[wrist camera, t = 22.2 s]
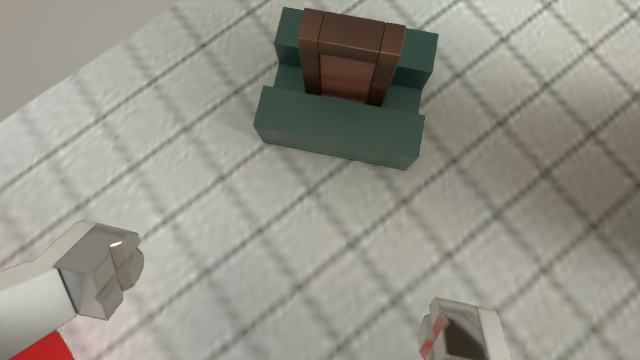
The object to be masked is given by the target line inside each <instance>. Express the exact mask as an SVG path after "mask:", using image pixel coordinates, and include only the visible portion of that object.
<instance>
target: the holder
mask: <svg viewBox="0 0 640 360" xmlns="http://www.w3.org/2000/svg"><path fill="white" fill-rule="evenodd" d="M303 12H304V10H299V9H293V8H287V7H283V10H282V14H281V18H280V22H279V26H278V30H277V34H276V38H275V42H274V45H275V49H276V52H277V56H278V60H279V67H278V71H277V75H276V79H275V83H274V87H270V86H263V89H262V93H261V97H260V101H259V105H258V109H257V113H256V117H255V121H254V125H253V126H254V127H255V129H256V131H257V132H258V134H259V136H260V137H261V139H262V140H263V142H265V143H270V144H275V145H281V146H286V147H291V148H296V149H301V150H306V151H311V152H316V153H321V154H326V155H331V156H336V157H341V158H346V159H351V160H356V161H362V162H367V163H372V164H377V165H382V166H387V167H392V168H397V169H402V170H406V169H407V168H408V167H409V166H410V165H411V164H412V163H413V162H414V161H415V160H416V159H417V158H418V157H419V150H420V144H421V138H422V132H423V126H424V120H425V116H424V115H418V110H419V104H420V98H421V92H422V89H423V87H424V85H425V84H426V82H427V80H428V79H429V77H430V75H431V73H432V71H433V65H434V59H435V53H436V47H437V41H438V34H436V33H430V32H425V31H419V30H413V29H408V28H406V29H405V35H404V40H403V46H402V51H401V56H400V59H399V62H398V64H397V67H396V69H395V72H394V75H393V77H392V80H391V83H390V85H389V88H388V91H387V93H386V96H385V99H384V101H383V104H382V106H381V107H376V106H371V105H365V104H360V103H355V102H349V101H344V100H339V99H334V98H328V97H323V96H318V95H312V94H307V93H305V87H304V80H303V73H302V66H301V59H300V52H299V45H298V38H297V37H298V33H299V29H300V25H301V20H302V16H303Z"/></svg>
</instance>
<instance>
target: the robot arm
mask: <svg viewBox="0 0 640 360" xmlns="http://www.w3.org/2000/svg"><path fill="white" fill-rule="evenodd" d="M139 243H140V239H139V235H138V233H135V232H132V231H128V230H124V229H120V228H116V227H112V226H108V225H104V224H99V223H95V222H90V221H86V220H81V221H79V222H76V223H75V224H74V225H73V226H72V227H70V228H69V229H68V230H67V231H66V232H65V233H64V234H63V235H62V236H60V237H59V238H58V239H57V240H56V241H55V242H54V243H53V244H52V245H50V246H49V247H48V248H47V249H46V250H45V251H44V252H43V253H42V254H40V255H39V256H38V257H37V258H36V259H35V260H34V261H33V262H28V261H26V262H23V263H21V264H18V265H15V266H13V267H10V268H8V269H5V270H3V271H0V360H8V359H10V358H11V357H13V356H15V355H16V354H18V353H19V352H21V351H22V350H24V349H26V348H27V347H29V346H30V345H32V344H34V343H35V342H37V341H38V340H40V339H41V338H43V337H45V336H46V335H48V334H49V333H51V332H53V331H54V330H56V329H57V328H59V327H61V326H62V325H64V324H65V323H67V322H68V321H70V320H72V319H73V318H75V317H76V316H77V315H76V314H78V315H83V316H88V317H93V318H97V319H102V320H107V321H108V320H109V318H110V317H111V316H112V314H113V313H114V312H115V310H116V309H117V308H118V306H119V305H120V304H121V302H122V301H123V291H125V290H127V289H129V288H131V287H133V286H134V285H135V283H136V282H137V280H138V279H139V277H140V275H141V272H142V270H143V266H144V257H143V253H142V252H141V251H140V250H139V249H138V248H137V246H138V244H139ZM419 352H420V354H421V355H422V357H423V358H424V360H511V358H510V355H509V351H508V348H507V344H506V341H505V337H504V334H503V330H502V327H501V323H500V320H499V316H498V314H497V312H496V311H495V310H492V309H487V308H483V307H478V306H473V305H470V304H465V303H460V302H456V301H451V300H446V299H441V298H434V299H433V300H432V302H431V304H430V314H428V315H426V316H424V319H423V321H422V323H421V327H420V332H419Z"/></svg>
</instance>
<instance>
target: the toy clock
mask: <svg viewBox="0 0 640 360" xmlns="http://www.w3.org/2000/svg"><path fill="white" fill-rule="evenodd" d="M8 360H74V359H73V357H72V354H71V352H70V351H69V349H68V347H67V346H66V344H65V342H64V341H63V339H62V338H61V336H60V334H59V333H58V332H57V331H56V330H54V331H53V332H51V333H49V334H48V335H46V336H45V337H43V338H41V339H40V340H38V341H37V342H35V343H34V344H32V345H30V346H29V347H27V348H26V349H24V350H22V351H21V352H19V353H18V354H16V355H15V356H13V357H11V358H10V359H8Z"/></svg>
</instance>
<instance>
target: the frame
mask: <svg viewBox="0 0 640 360" xmlns="http://www.w3.org/2000/svg"><path fill="white" fill-rule="evenodd" d="M405 29H406V26H404V25H399V24H393V23H386V24H385V22H382V21H377V20H371V19H365V18H360V17H354V16H348V15H342V14H337V13H331V12H325V13H324V11H320V10H314V9H309V8H305V9H304V12H303V16H302V20H301V25H300V29H299V33H298V37H297V38H298V45H299V52H300V59H301V66H302V73H303V80H304V87H305V93H307V94H312V95H318V96H323V97H328V98H334V99H339V100H344V101H349V102H355V103H360V104H365V105H371V106H376V107H381V106H382V104H383V101H384V99H385V96H386V93H387V91H388V88H389V85H390V83H391V80H392V77H393V75H394V72H395V69H396V67H397V64H398V62H399V59H400V56H401V51H402V46H403V40H404V35H405Z"/></svg>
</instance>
